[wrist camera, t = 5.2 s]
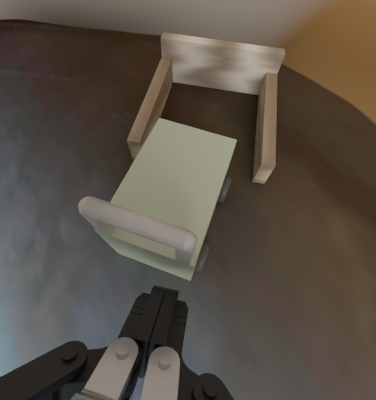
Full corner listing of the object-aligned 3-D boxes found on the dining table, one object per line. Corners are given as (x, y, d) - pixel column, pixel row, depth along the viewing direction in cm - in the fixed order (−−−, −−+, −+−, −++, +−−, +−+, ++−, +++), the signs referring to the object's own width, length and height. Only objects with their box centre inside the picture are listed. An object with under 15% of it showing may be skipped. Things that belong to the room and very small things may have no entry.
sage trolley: (111, 252, 19) (55, 202, 10) (158, 161, 23) (146, 74, 15) (197, 285, 18) (211, 258, 9) (229, 183, 22) (259, 103, 14)
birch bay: (133, 160, 23) (121, 123, 19) (166, 75, 29) (163, 32, 25) (264, 183, 22) (284, 151, 18) (268, 90, 29) (284, 49, 24)
